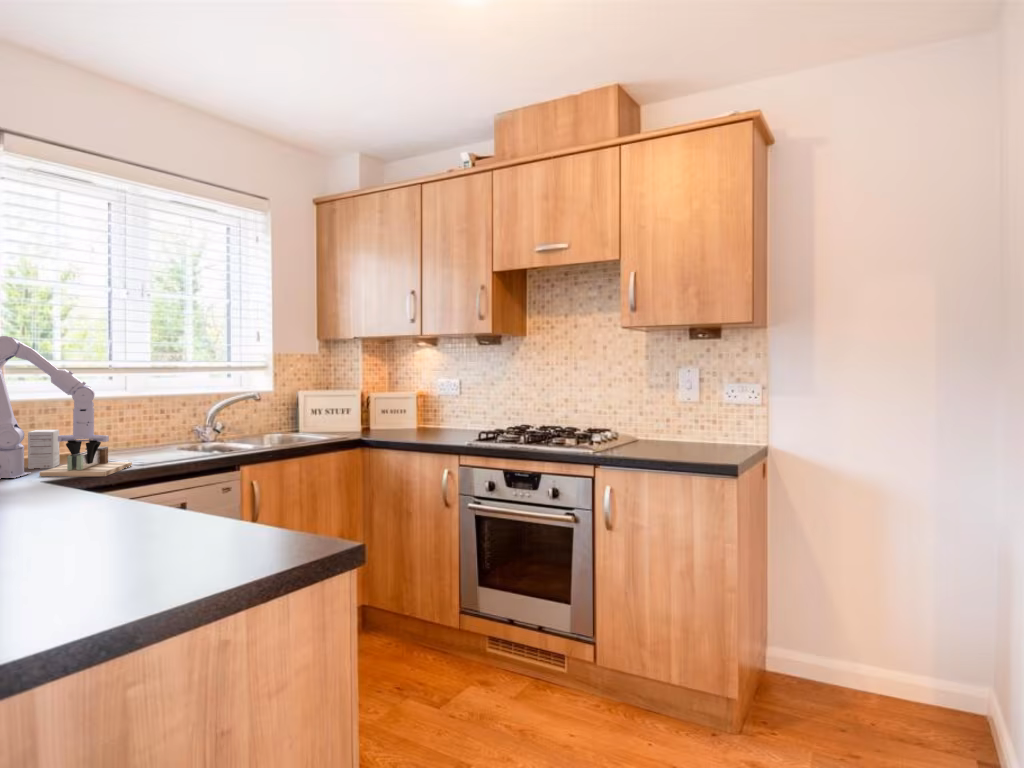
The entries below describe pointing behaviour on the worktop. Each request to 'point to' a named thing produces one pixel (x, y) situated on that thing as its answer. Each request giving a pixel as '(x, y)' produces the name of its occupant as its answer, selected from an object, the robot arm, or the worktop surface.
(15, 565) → the worktop surface
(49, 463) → the supplement box
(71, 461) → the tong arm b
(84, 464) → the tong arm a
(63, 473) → the tong board
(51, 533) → the worktop surface
